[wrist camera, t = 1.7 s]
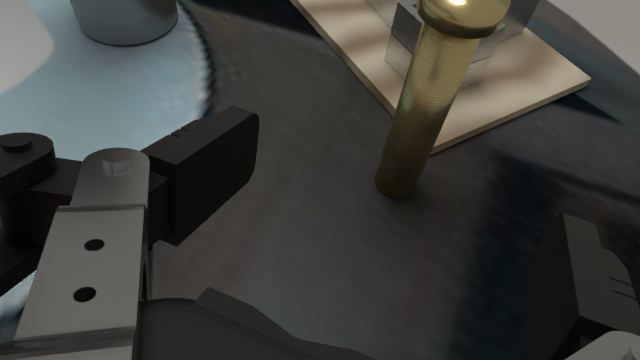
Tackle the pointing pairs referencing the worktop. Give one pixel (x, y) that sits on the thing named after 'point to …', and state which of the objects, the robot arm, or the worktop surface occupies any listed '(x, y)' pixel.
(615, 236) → the worktop surface
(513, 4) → the hinge
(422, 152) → the hinge pin
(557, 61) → the board
